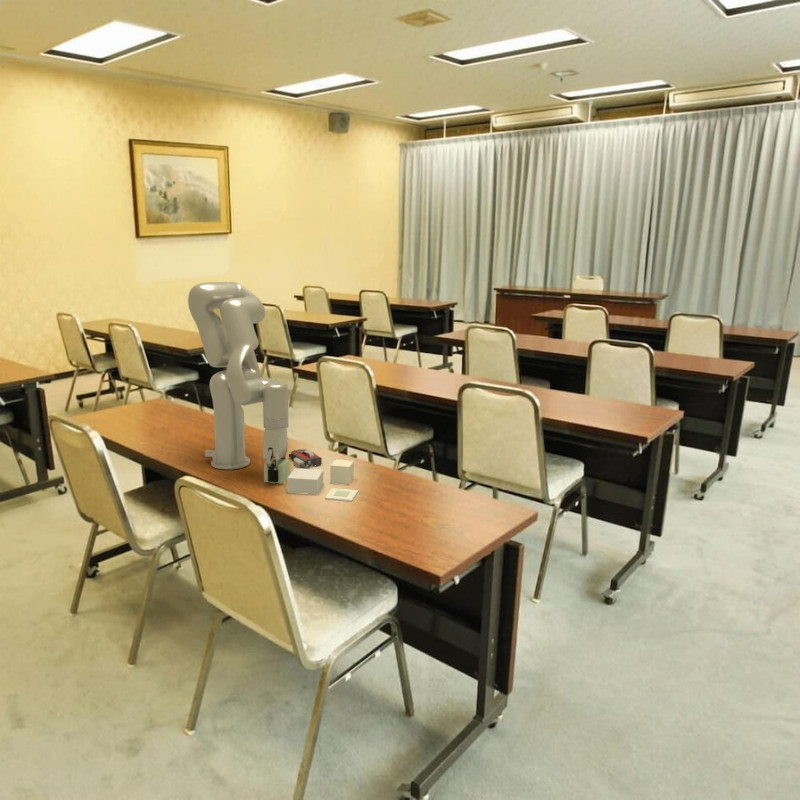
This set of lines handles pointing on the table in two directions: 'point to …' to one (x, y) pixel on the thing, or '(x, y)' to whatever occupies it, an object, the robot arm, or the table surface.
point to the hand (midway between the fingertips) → (276, 477)
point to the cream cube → (342, 471)
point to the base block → (305, 481)
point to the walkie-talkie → (305, 458)
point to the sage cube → (279, 470)
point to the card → (341, 494)
